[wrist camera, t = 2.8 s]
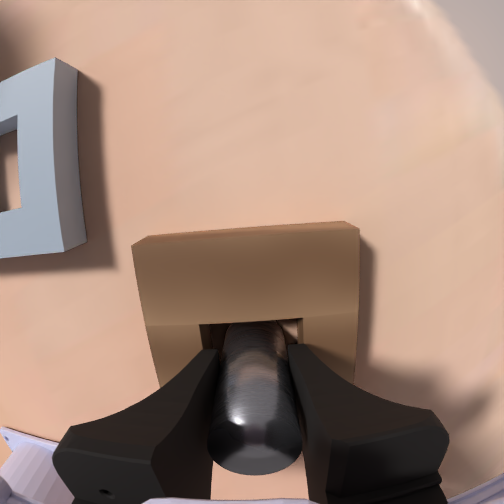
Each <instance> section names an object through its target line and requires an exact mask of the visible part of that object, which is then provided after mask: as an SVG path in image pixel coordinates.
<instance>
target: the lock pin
mask: <svg viewBox="0 0 504 504" xmlns="http://www.w3.org/2000/svg"><path fill="white" fill-rule="evenodd" d="M302 446H303V443H302V436H301V430H300V425H299V419H298V413H297V407H296V401H295V396H294V390H293V384H292V379H291V374H290V368H289V363H288V356H287V351H286V345H285V340H284V335H283V331H282V329H281V328H280V326H279V325H278V324H277V323H276V322H275V321H274V320H266V321H252V322H235V323H232V324H231V325H230V326H229V328H228V330H227V332H226V335H225V341H224V346H223V352H222V358H221V364H220V369H219V375H218V381H217V387H216V392H215V398H214V404H213V410H212V416H211V422H210V428H209V434H208V440H207V450H208V453H209V455H210V456H211V458H212V459H213V460H214V461H215V462H216V463H217V464H218V465H220V466H221V467H223V468H225V469H227V470H229V471H232V472H235V473H238V474H244V475H266V474H271V473H275V472H278V471H280V470H282V469H285V468H286V467H288V466H290V465H291V464H292V463H293V462H295V461H296V459H297V458H298V457H299V455H300V454H301V451H302Z"/></svg>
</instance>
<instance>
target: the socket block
mask: <svg viewBox="0 0 504 504" xmlns="http://www.w3.org/2000/svg"><path fill="white" fill-rule="evenodd" d="M77 75H78V69H76V68H74V67H72V66H70V65H69V64H67V63H65V62H63V61H61V60H59V59H57V58H56V57H55V58H53V59H50V60H48V61H45V62H43V63H40V64H38V65H36V66H34V67H31V68H29V69H27V70H25V71H22V72H20V73H18V74H16V75H14V76H12V77H10V78H8V79H6V80H4V81H2V82H0V136H1V135H4V134H6V133H9V132H11V131H14V130H16V129H17V144H18V170H19V185H20V196H21V206H22V208H18V209H14V210H9V211H5V212H1V213H0V258H8V257H18V256H27V255H37V254H47V253H57V252H65V251H67V250H70V249H72V248H74V247H76V246H79V245H81V244H83V243H86V242H87V237H86V230H85V223H84V215H83V207H82V198H81V188H80V176H79V162H78V143H77Z"/></svg>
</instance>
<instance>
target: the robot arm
mask: <svg viewBox="0 0 504 504" xmlns="http://www.w3.org/2000/svg"><path fill="white" fill-rule="evenodd" d="M288 363H289V368H290V374H291V379H292V384H293V390H294V396H295V401H296V407H297V413H298V419H299V425H300V430H301V436H302V443H303V446H302V452H303V456H304V462H305V469H306V477H307V485H308V494H309V500H307V499H294V498H277V499H259V500H210V497H211V480H212V467H213V459H212V458H211V456H210V455H209V453H208V450H207V440H208V434H209V428H210V422H211V416H212V410H213V404H214V398H215V392H216V387H217V381H218V375H219V369H220V362H219V355H218V349H208V350H201V351H200V352H199V353H198V354H197V355H196V356H195V357H194V358H193V359H192V360H191V361H190V362H189V363H188V364H187V365H186V366H185V367H184V368H183V369H182V370H181V371H180V372H179V373H178V374H177V375H176V376H175V377H173V378H172V379H171V380H170V381H169V382H167V383H166V384H165V385H164V386H163V387H161V388H160V389H159V390H157V391H156V392H154V393H153V394H151V395H150V396H148V397H147V398H145V399H144V400H142V401H140V402H138V403H136V404H134V405H132V406H130V407H128V408H126V409H124V410H122V411H120V412H118V413H115V414H113V415H110V416H107V417H104V418H101V419H98V420H95V421H91V422H87V423H83V424H79V425H74V426H70V428H69V429H68V431H67V432H66V434H65V435H64V437H63V438H62V440H61V441H60V443H57V442H53V441H49V440H45V439H42V438H38V437H34V436H31V435H28V434H24V433H21V432H18V431H15V430H12V429H9V428H6V427H1V428H0V433H1V434H2V436H3V438H4V439H5V441H6V443H7V444H8V446H9V447H10V449H11V450H12V454H11V455H10V456H9V458H8V459H7V460H6V462H5V463H4V464H3V466H2V467H1V468H0V504H504V473H502V474H500V475H499V476H497V477H495V478H493V479H491V480H489V481H487V482H485V483H483V484H481V485H479V486H476V487H474V488H472V489H470V490H468V491H466V492H463V493H461V494H459V495H456V496H454V497H451V498H449V499H446V497H445V495H444V493H443V491H442V489H441V488H440V486H439V484H440V483H441V482H442V478H441V476H440V475H439V473H438V469H439V466H440V464H441V462H442V460H443V458H444V455H445V453H446V451H447V448H448V445H449V434H448V433H447V431H446V430H445V428H444V427H443V425H442V423H441V422H440V420H439V419H438V418H437V417H436V415H435V414H434V413H433V412H432V411H431V410H427V409H421V408H415V407H410V406H405V405H401V404H398V403H394V402H391V401H388V400H385V399H382V398H379V397H377V396H375V395H372V394H370V393H368V392H366V391H364V390H362V389H360V388H358V387H356V386H354V385H353V384H351V383H349V382H348V381H346V380H345V379H343V378H342V377H340V376H339V375H338V374H336V373H335V372H334V371H332V370H331V369H330V368H329V367H328V366H327V365H326V364H324V363H323V362H322V361H321V360H320V359H319V358H318V357H317V356H316V355H315V354H314V353H313V352H312V351H311V350H310V349H309V348H308V346H307V345H305V344H304V343H302V344H291V345H288Z"/></svg>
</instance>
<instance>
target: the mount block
mask: <svg viewBox="0 0 504 504" xmlns="http://www.w3.org/2000/svg"><path fill="white" fill-rule="evenodd" d="M131 248H132V254H133V261H134V267H135V273H136V279H137V285H138V291H139V296H140V301H141V307H142V312H143V317H144V321H145V326H146V331H147V336H148V340H149V344H150V349H151V353H152V357H153V361H154V366H155V370H156V373H157V377H158V381H159V385H160V388H161V387H163V386H164V385H165V384H166V383H167V382H169V381H170V380H171V379H172V378H173V377H175V376H176V375H177V374H178V373H179V372H180V371H181V370H182V369H183V368H184V367H185V366H186V365H187V364H188V363H189V362H190V361H191V360H192V359H193V358H194V357H195V356H196V355H197V354H198V353H199V352H200V351H201V350H208V349H212V343H211V336H210V329H209V324H217V323H235V322H252V321H266V320H279V319H291V318H297V333H298V344H302V343H304V344H305V345H307V346H308V348H309V349H310V350H311V351H312V352H313V353H314V354H315V355H316V356H317V357H318V358H319V359H320V360H321V361H322V362H323V363H324V364H326V365H327V366H328V367H329V368H330V369H331V370H332V371H334V372H335V373H336V374H338V375H339V376H340V377H342V378H343V379H345V380H346V381H348V382H349V383H351V384H353V382H354V371H355V359H356V346H357V331H358V311H359V277H360V229H359V228H357V227H355V226H353V225H351V224H349V223H347V222H345V221H337V222H321V223H305V224H290V225H275V226H261V227H248V228H235V229H222V230H210V231H198V232H186V233H174V234H163V235H152V236H147V237H145V238H144V239H142V240H140V241H138V242H137V243H135V244H133V245H131Z"/></svg>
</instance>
